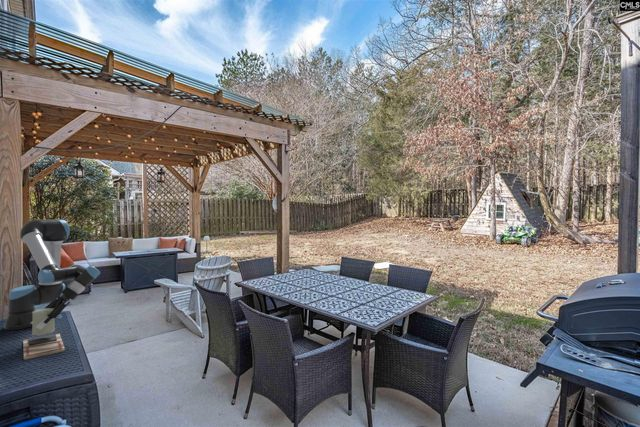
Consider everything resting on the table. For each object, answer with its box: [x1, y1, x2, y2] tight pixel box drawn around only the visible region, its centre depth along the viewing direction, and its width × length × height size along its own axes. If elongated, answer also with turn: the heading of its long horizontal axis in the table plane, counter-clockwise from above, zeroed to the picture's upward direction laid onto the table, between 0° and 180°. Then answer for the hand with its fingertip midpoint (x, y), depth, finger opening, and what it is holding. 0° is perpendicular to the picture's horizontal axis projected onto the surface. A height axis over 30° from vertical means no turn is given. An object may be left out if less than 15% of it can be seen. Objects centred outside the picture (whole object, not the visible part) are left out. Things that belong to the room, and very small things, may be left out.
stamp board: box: [22, 332, 66, 361], centre depth 163 cm, size 28×15×2 cm, turn 44°
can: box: [31, 308, 56, 336], centre depth 168 cm, size 9×9×12 cm
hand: (35, 326), depth 166 cm, fingers closed on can, 9 cm apart
